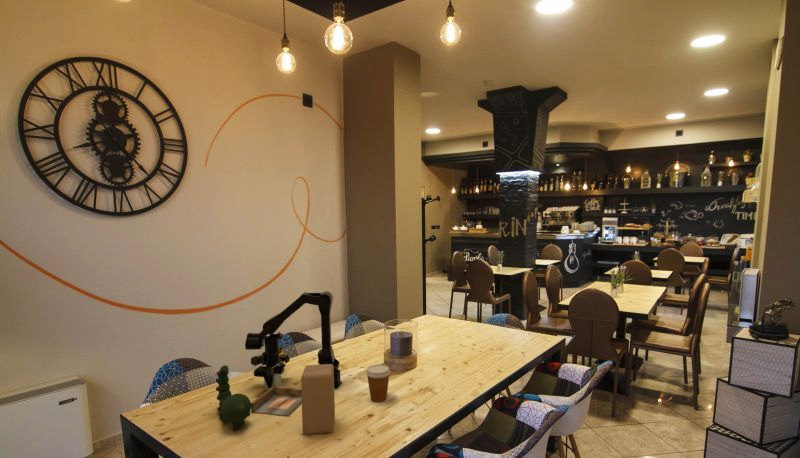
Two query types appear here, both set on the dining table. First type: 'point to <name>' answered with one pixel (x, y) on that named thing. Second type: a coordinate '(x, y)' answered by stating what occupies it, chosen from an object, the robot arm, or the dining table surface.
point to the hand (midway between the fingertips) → (273, 385)
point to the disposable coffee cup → (378, 382)
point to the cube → (274, 381)
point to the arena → (278, 401)
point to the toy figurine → (231, 402)
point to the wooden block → (318, 399)
